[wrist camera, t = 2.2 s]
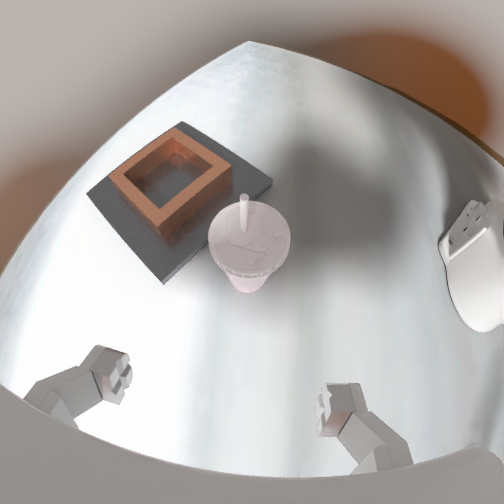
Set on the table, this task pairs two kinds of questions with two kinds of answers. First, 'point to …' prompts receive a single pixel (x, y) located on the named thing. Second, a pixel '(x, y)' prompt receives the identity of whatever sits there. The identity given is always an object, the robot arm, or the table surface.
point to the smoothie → (249, 242)
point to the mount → (174, 196)
